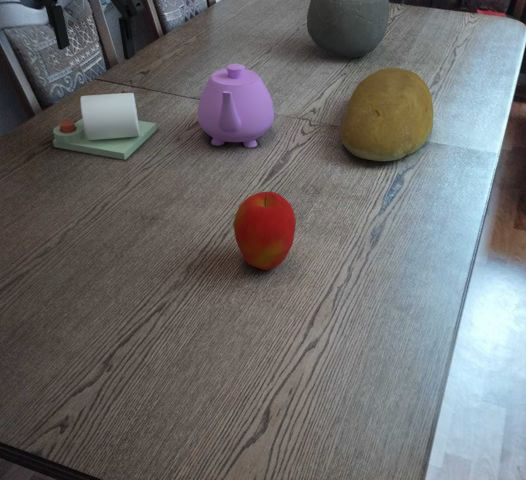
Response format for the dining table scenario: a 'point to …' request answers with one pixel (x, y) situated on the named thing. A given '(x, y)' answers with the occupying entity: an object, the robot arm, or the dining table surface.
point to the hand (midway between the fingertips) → (96, 52)
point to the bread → (388, 115)
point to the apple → (265, 229)
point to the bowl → (347, 25)
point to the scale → (102, 141)
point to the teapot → (235, 106)
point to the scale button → (67, 126)
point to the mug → (109, 116)
